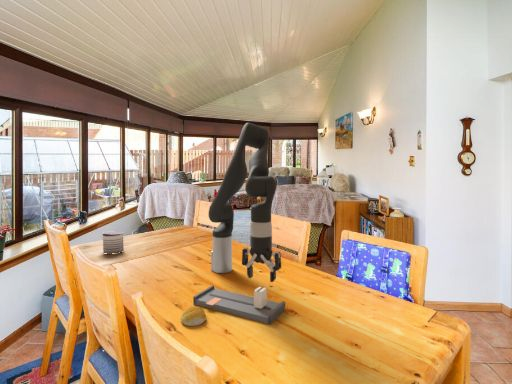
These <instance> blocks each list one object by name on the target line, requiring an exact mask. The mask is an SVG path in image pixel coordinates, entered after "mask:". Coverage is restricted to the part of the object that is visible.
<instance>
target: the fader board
mask: <svg viewBox="0 0 512 384" xmlns="http://www.w3.org/2000/svg"><path fill="white" fill-rule="evenodd" d="M192 298H193V305H196V306H198V307H203V308H206V309H211V310H215V311H218V312H223V313H226V314H230V315H234V316H237V317H240V318H241V317H242V318H245V319H249V320H253V321H256V322H260V323H264V324H267V325H272V324H273V323H274V322H275V321H276V320H277V319H278V318H279V317H280V315H282V313H284V312H285V311H286V301H284V300H282V301H281V302H278V301H277V302H276V301H273V300H268V299H267V304H266V305H265V306H264V307H263V308H262V309H260V308H256V307H254V296H250V295H246V294H241V293H237V292H233V291H228V290H224V289H219V288H215V285H211V286H209V287H207V288H205V289H204V290H202V291H200V292H199V293H197V294H195V295H193V297H192Z"/></svg>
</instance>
